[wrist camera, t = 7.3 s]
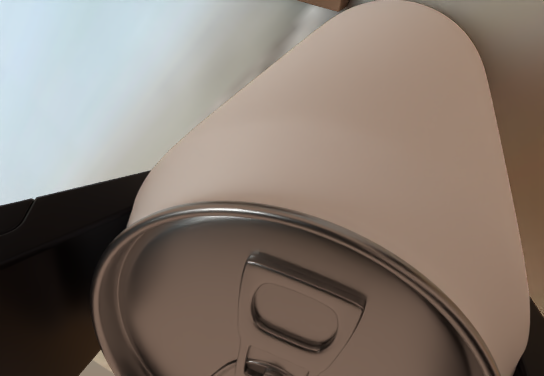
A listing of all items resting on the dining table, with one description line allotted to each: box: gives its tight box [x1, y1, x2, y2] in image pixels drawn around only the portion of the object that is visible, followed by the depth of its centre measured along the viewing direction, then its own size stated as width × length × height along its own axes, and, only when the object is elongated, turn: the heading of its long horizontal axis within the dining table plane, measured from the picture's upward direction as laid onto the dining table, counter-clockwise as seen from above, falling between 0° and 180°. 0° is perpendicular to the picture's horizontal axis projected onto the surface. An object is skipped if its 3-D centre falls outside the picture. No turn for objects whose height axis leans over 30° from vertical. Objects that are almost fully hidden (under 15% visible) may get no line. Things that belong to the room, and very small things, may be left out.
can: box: [90, 0, 530, 376], centre depth 11 cm, size 6×6×12 cm
